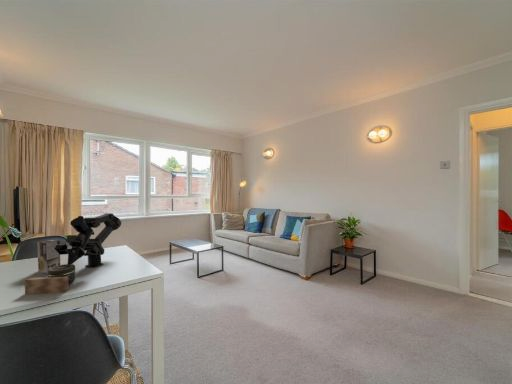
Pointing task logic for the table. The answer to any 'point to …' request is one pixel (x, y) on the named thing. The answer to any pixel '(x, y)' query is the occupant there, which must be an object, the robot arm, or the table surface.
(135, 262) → the table surface
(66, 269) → the jar
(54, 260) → the coffee box
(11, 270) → the table surface
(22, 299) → the table surface
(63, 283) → the walnut board
